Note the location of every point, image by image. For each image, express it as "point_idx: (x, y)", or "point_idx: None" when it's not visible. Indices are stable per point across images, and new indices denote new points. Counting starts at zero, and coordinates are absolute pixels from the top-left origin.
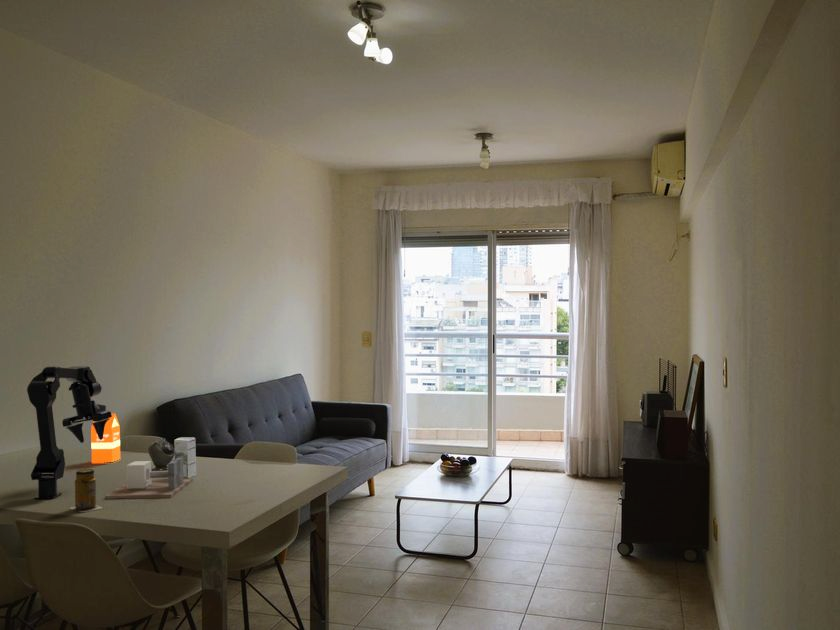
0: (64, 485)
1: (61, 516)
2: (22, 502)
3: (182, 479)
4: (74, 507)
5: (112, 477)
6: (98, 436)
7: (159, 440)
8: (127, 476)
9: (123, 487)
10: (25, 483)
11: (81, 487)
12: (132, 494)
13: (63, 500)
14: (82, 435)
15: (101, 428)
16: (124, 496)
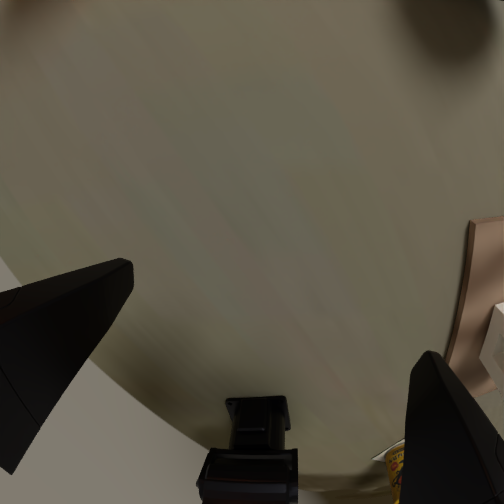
0: (199, 287)
1: (374, 477)
2: (228, 442)
3: None
4: (380, 455)
5: (339, 113)
6: (410, 420)
7: None
8: (496, 382)
9: (467, 338)
10: (41, 261)
11: None
12: (488, 387)
13: (327, 429)
14: (75, 304)
15: (473, 481)
16: (472, 396)
